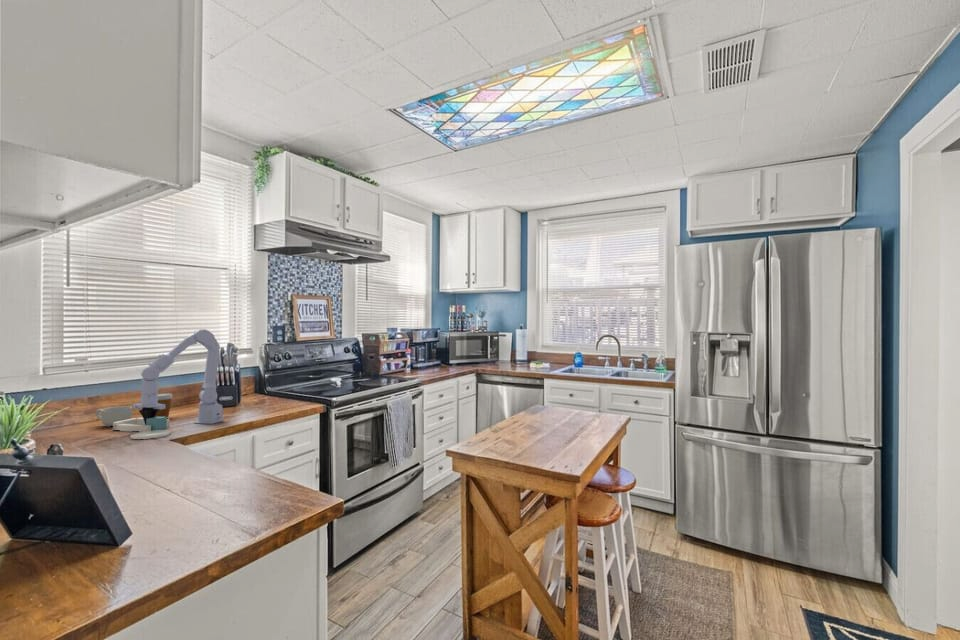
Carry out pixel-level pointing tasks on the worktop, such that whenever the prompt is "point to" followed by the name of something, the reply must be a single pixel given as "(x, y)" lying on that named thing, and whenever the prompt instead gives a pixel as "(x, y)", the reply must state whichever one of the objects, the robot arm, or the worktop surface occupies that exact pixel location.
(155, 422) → the cube
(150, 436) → the dish
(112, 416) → the teacup
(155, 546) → the worktop surface
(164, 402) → the disposable coffee cup
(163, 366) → the robot arm
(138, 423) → the frame
